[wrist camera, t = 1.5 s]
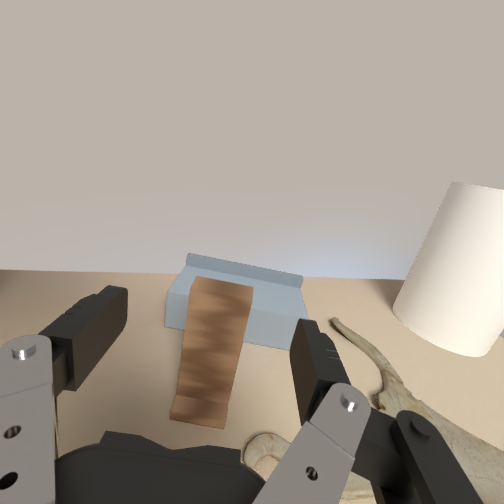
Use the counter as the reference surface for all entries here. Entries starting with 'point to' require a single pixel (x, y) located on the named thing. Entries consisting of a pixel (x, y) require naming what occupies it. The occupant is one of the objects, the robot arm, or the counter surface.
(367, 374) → the counter surface
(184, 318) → the display riser
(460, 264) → the cylinder
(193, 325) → the brown wooden block
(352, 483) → the decorative wall piece
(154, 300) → the counter surface
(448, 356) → the counter surface
